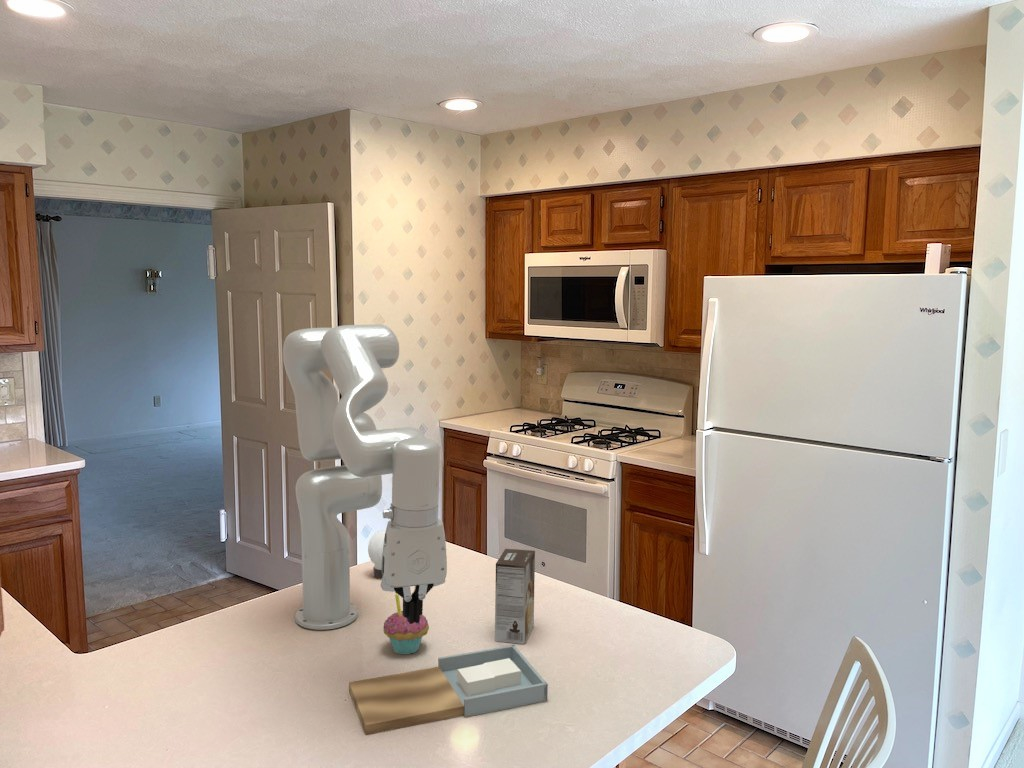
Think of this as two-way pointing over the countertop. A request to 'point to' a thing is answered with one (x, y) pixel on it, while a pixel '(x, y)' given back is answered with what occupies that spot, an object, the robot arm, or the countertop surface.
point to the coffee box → (514, 596)
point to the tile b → (504, 673)
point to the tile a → (476, 680)
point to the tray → (502, 698)
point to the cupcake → (404, 631)
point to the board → (404, 700)
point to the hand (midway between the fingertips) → (412, 619)
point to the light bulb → (376, 552)
